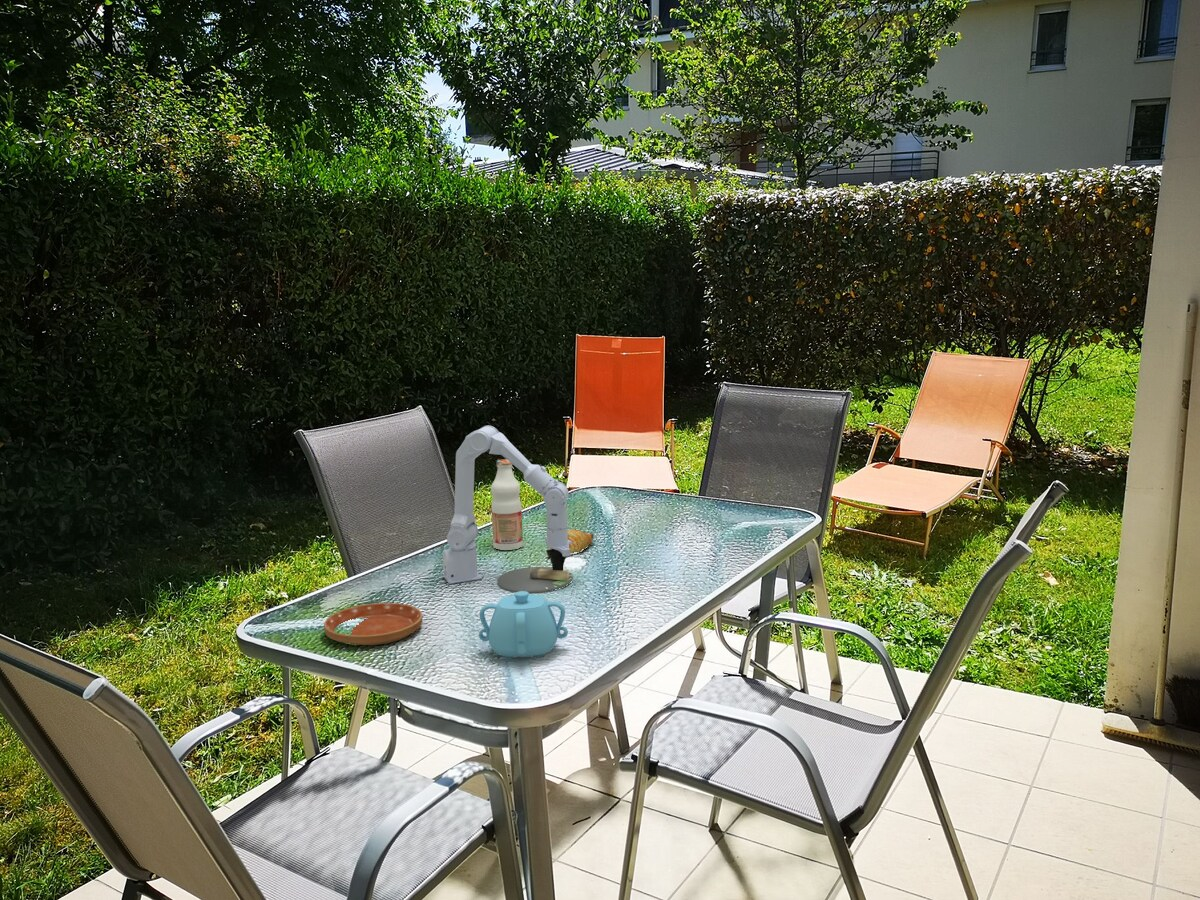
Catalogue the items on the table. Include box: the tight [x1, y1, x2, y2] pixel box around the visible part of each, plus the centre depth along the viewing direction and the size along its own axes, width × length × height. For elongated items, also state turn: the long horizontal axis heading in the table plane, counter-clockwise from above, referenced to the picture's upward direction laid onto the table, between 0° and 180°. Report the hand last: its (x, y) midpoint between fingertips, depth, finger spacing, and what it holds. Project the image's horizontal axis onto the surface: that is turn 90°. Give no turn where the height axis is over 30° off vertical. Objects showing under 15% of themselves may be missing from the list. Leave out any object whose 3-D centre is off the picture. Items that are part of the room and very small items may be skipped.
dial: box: [496, 566, 574, 594], centre depth 252 cm, size 21×21×1 cm
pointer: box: [530, 566, 570, 581], centre depth 250 cm, size 11×3×2 cm, turn 69°
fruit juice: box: [490, 458, 524, 550], centre depth 284 cm, size 9×9×28 cm
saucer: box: [323, 602, 423, 646], centre depth 217 cm, size 23×23×4 cm
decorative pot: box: [478, 591, 569, 660], centre depth 203 cm, size 16×16×14 cm
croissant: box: [546, 528, 595, 557], centre depth 280 cm, size 21×10×8 cm, turn 143°
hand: (558, 574), depth 252 cm, fingers closed, pressing on pointer
